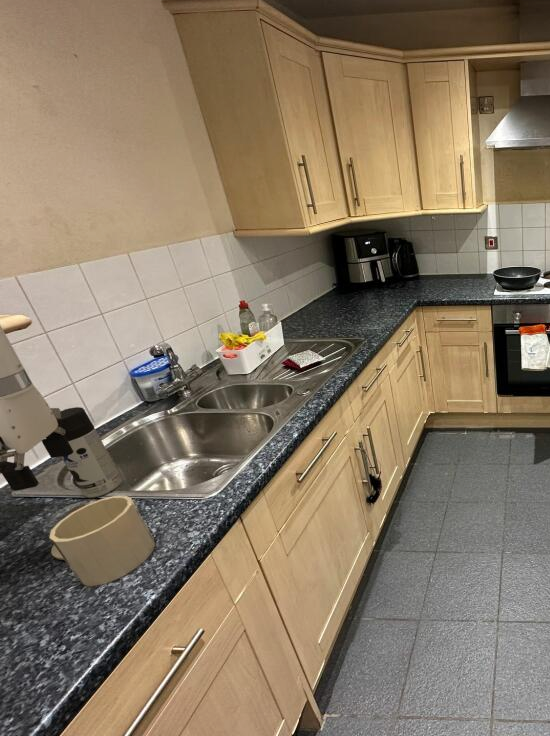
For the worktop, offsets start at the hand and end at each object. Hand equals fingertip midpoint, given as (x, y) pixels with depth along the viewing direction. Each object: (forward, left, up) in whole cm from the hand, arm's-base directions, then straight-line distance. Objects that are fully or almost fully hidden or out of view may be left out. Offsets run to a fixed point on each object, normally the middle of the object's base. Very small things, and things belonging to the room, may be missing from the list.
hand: (45, 470), depth 73 cm
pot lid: (+1, 0, -16) cm, 16 cm away
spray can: (-5, +18, -17) cm, 25 cm away
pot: (+9, -9, -17) cm, 21 cm away
